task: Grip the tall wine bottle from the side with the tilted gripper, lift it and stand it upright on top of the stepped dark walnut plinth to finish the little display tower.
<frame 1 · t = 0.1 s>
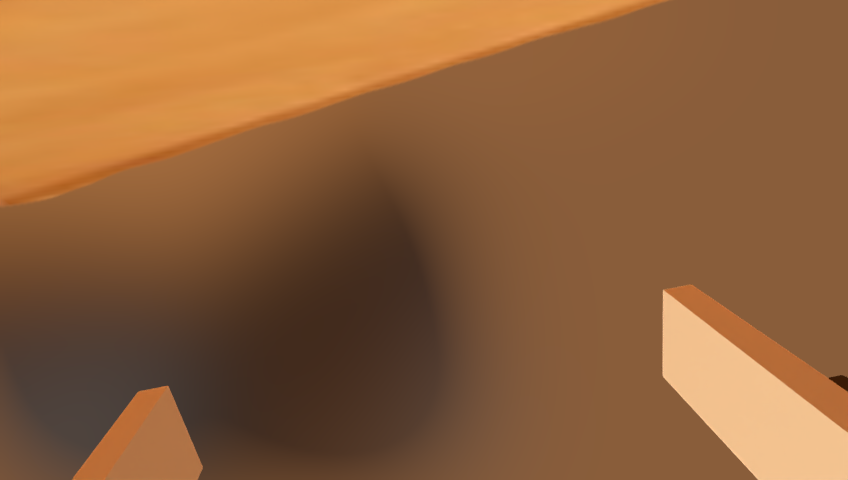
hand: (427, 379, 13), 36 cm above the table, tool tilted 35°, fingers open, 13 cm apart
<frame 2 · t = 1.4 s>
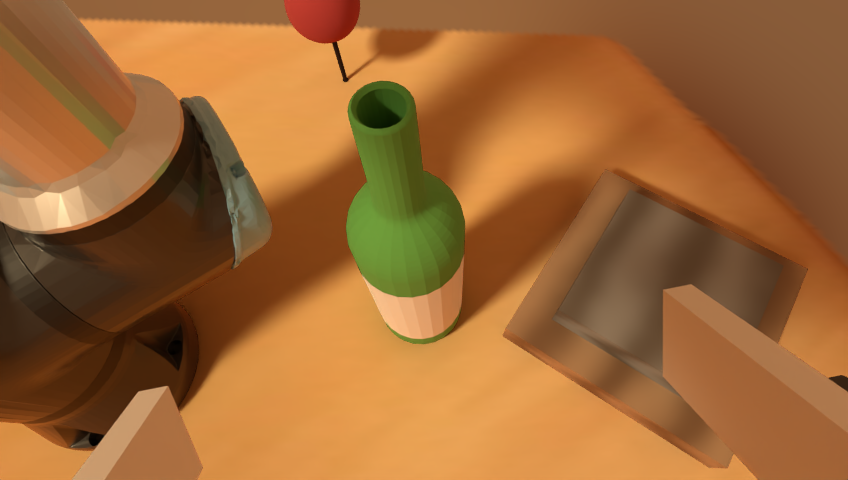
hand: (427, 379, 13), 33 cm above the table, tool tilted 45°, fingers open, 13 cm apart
plinth: (646, 307, 46), on the table
lollipop: (344, 80, 60), on the table
wine bottle: (422, 308, 48), on the table
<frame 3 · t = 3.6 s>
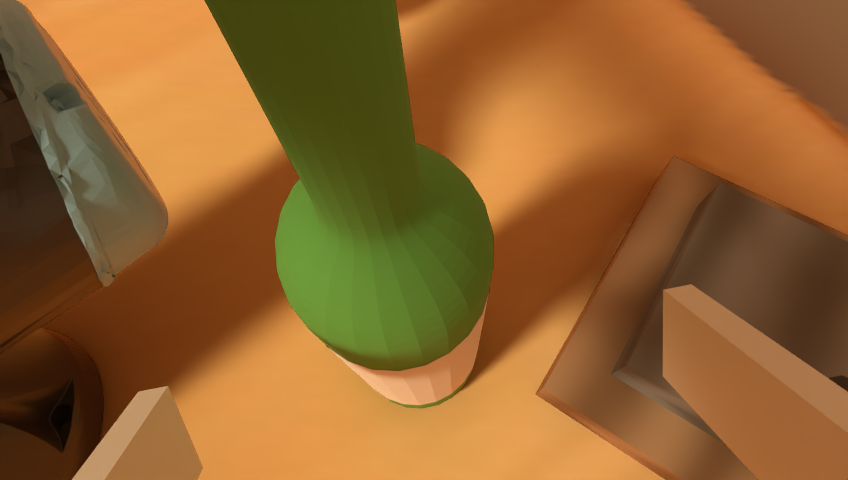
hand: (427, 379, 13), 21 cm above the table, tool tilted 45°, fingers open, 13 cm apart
plinth: (740, 352, 32), on the table
wine bottle: (420, 352, 34), on the table
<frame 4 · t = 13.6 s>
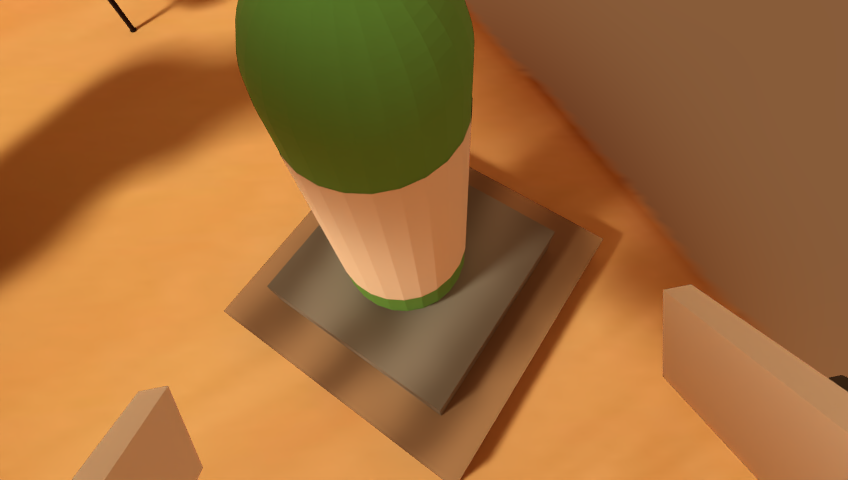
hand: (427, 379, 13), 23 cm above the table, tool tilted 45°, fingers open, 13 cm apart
plinth: (418, 288, 38), on the table
lollipop: (133, 31, 52), on the table
wine bottle: (407, 261, 32), point 6 cm above the table, touching plinth
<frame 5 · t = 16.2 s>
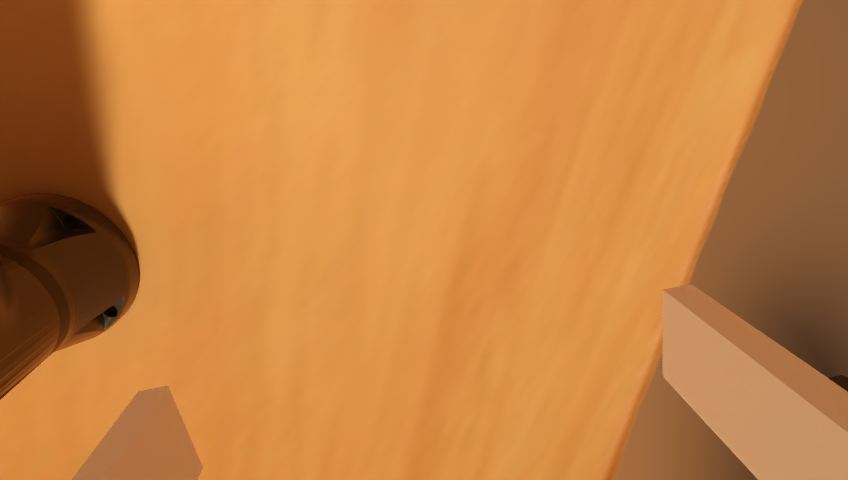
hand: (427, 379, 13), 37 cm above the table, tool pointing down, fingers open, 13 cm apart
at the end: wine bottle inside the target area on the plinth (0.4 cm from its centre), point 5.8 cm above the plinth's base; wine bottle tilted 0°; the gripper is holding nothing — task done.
